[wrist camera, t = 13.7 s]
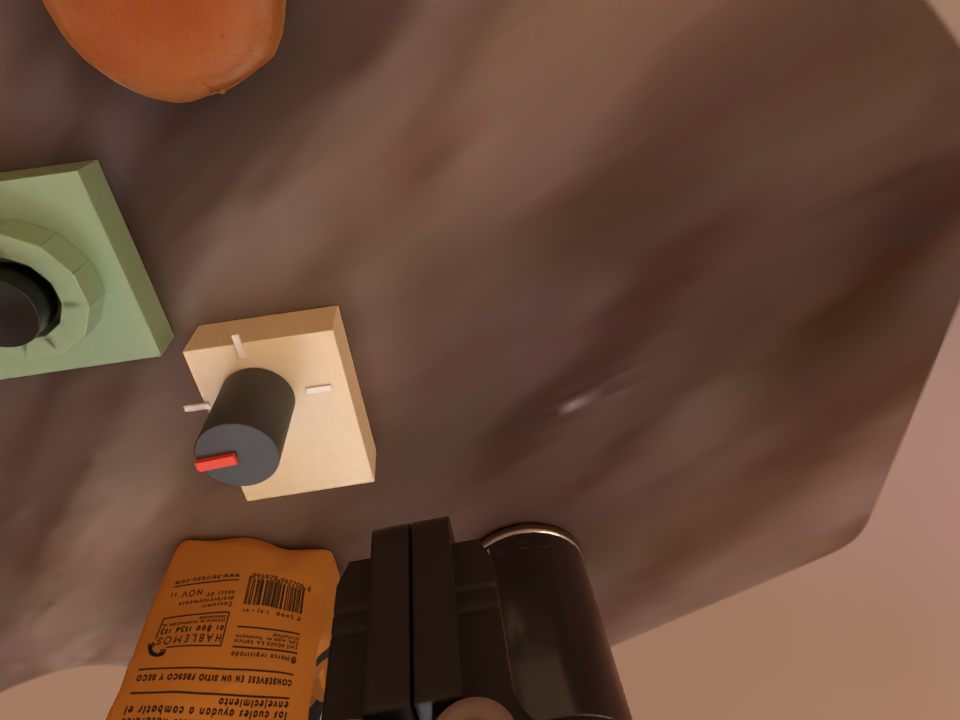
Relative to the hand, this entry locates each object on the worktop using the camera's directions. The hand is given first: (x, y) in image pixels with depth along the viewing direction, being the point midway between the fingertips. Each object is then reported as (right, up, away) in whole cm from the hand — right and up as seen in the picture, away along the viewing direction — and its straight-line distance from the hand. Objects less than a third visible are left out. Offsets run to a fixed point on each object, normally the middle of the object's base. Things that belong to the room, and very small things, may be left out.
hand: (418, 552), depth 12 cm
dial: (-11, +2, +22) cm, 24 cm away
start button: (-21, +7, +17) cm, 28 cm away
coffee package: (-15, -13, +34) cm, 39 cm away
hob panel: (-10, +2, +25) cm, 27 cm away
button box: (-21, +9, +20) cm, 30 cm away
